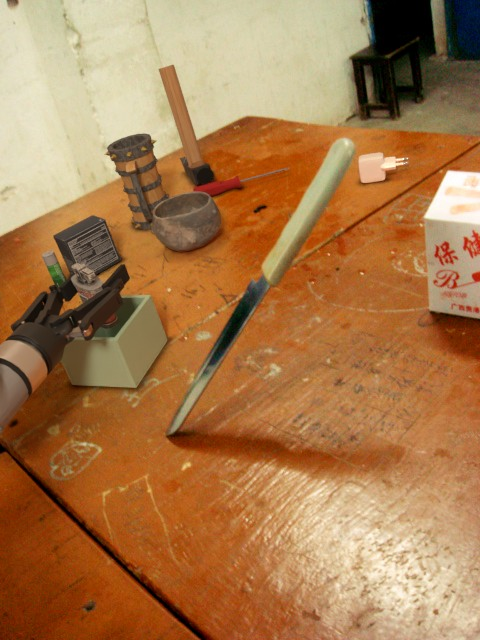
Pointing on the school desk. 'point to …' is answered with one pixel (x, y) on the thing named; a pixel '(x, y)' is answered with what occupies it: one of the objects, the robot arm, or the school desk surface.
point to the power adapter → (377, 166)
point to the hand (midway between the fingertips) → (104, 272)
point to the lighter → (90, 288)
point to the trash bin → (118, 347)
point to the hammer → (185, 129)
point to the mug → (138, 176)
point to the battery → (54, 267)
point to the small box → (88, 245)
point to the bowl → (186, 221)
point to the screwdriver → (226, 184)
